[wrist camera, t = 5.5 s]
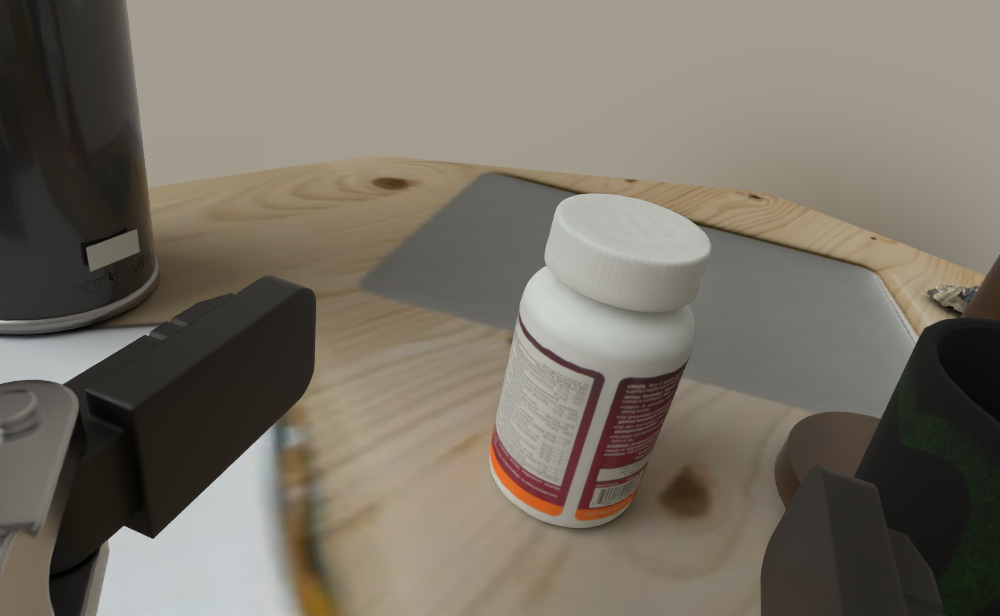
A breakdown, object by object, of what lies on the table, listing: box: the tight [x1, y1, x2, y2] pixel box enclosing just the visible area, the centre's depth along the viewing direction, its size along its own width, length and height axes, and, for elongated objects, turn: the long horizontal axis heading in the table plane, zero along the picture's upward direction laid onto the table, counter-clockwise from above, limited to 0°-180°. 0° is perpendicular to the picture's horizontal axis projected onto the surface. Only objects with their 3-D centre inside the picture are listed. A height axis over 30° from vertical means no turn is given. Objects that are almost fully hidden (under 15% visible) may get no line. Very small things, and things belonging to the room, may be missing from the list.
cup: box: [854, 317, 1000, 616], centre depth 17 cm, size 8×8×12 cm
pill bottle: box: [489, 194, 711, 528], centre depth 24 cm, size 6×6×11 cm
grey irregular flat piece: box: [927, 283, 979, 312], centre depth 49 cm, size 7×8×2 cm
